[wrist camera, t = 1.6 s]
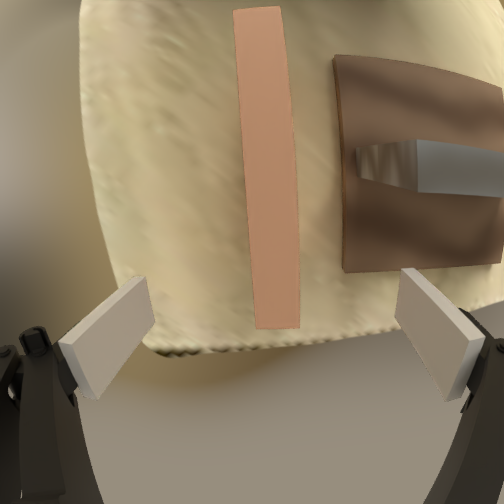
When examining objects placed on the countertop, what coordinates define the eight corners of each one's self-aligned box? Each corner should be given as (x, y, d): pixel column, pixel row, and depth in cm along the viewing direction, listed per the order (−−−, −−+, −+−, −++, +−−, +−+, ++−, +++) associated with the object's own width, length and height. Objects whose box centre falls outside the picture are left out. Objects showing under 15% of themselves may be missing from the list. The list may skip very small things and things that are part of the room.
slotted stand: (332, 59, 21) (369, -16, 8) (494, 89, 19) (574, 75, 6) (342, 267, 27) (382, 351, 14) (493, 258, 25) (566, 308, 12)
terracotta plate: (254, 71, 22) (232, 10, 11) (281, 69, 22) (280, 5, 11) (267, 260, 28) (255, 329, 16) (293, 259, 27) (299, 328, 16)
